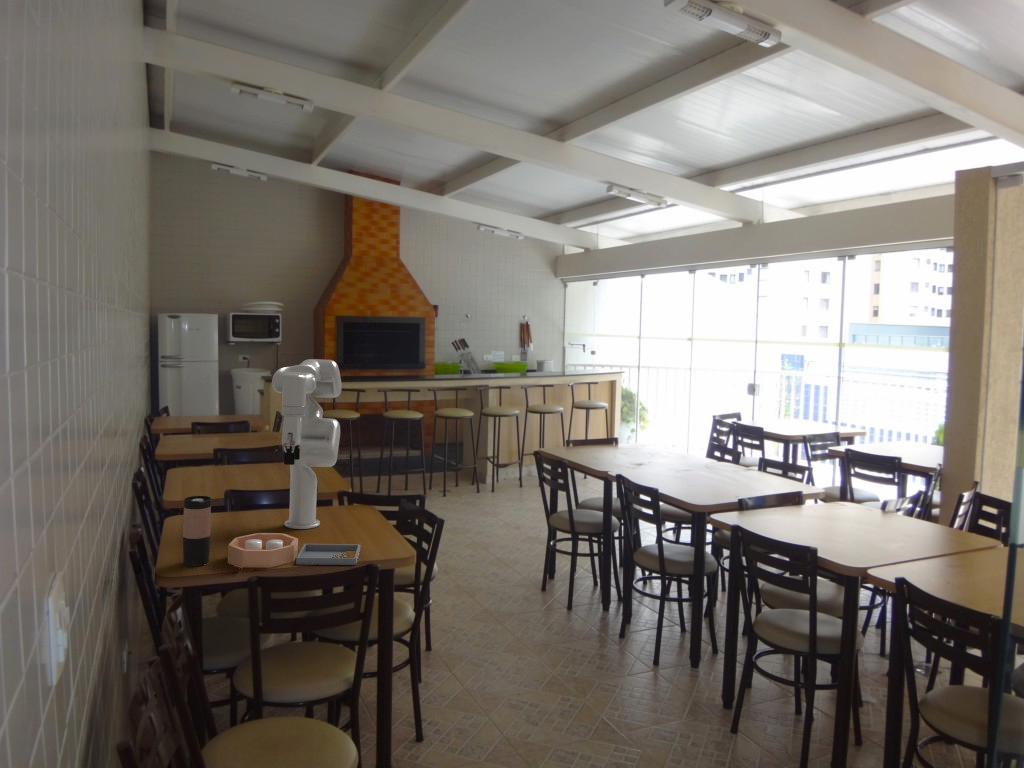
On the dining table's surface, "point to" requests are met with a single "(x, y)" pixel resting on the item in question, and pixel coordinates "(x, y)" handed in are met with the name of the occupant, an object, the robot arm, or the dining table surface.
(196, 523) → the travel mug
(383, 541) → the dining table surface
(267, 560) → the bowl
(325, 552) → the parts tray
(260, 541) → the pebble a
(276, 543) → the pebble
